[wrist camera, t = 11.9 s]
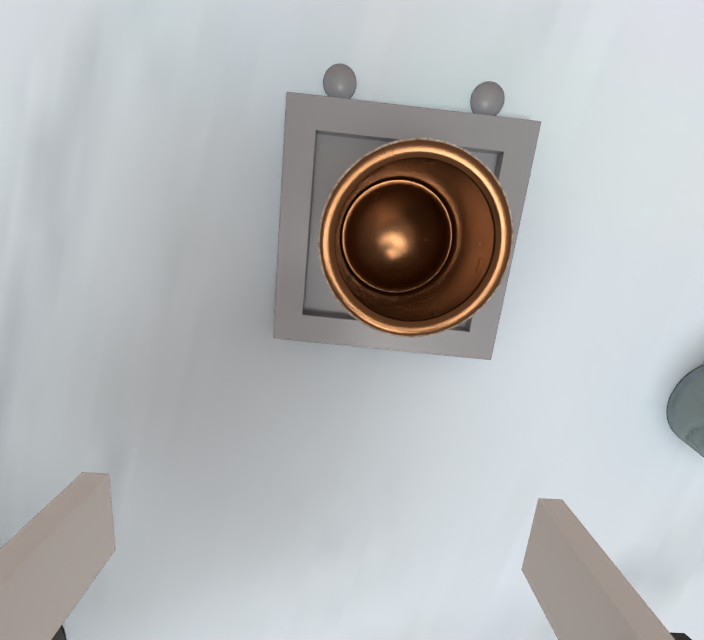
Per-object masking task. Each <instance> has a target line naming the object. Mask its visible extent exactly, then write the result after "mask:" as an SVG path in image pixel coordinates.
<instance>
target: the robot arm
mask: <svg viewBox="0 0 704 640" xmlns="http://www.w3.org/2000/svg"><path fill="white" fill-rule="evenodd" d="M114 551H115V539H114V527H113V516H112V504H111V492H110V480H109V474H104V473H87V472H82V473H81V474H80V475H79V476H78V477H77V478H76V479H75V480H74V481H73V482H72V483H71V484H70V485H68V486H67V487H66V488H65V489H64V490H63V491H62V492H61V493H60V494H59V495H58V496H57V497H56V498H55V499H53V500H52V501H51V502H50V503H49V504H48V505H47V506H46V507H45V508H44V509H43V510H42V511H41V512H40V513H38V514H37V515H36V516H35V517H34V518H33V519H32V520H31V521H30V522H29V523H28V524H27V525H26V526H25V527H23V528H22V529H21V530H20V531H19V532H18V533H17V534H16V535H15V536H14V537H13V538H12V539H11V540H10V541H8V542H7V543H6V544H5V545H4V546H3V547H2V548H1V549H0V640H65V637H64V634H63V631H62V628H61V625H62V624H63V623H64V621H65V620H66V618H67V617H68V616H69V614H70V613H71V611H72V610H73V608H74V607H75V606H76V604H77V603H78V601H79V600H80V599H81V597H82V596H83V594H84V593H85V592H86V590H87V589H88V587H89V586H90V585H91V583H92V582H93V580H94V579H95V578H96V576H97V575H98V573H99V572H100V571H101V569H102V568H103V566H104V565H105V564H106V562H107V561H108V559H109V558H110V556H111V555H112V554H113V552H114ZM522 571H523V573H524V575H525V577H526V579H527V581H528V583H529V585H530V587H531V589H532V590H533V592H534V594H535V596H536V598H537V600H538V602H539V604H540V606H541V608H542V610H543V612H544V613H545V615H546V617H547V619H548V621H549V623H550V625H551V627H552V629H553V631H554V633H555V635H556V636H557V638H558V640H692V639H690V638H689V637H688V636H687V635H686V634H685V633H669V631H668V630H667V629H666V628H665V626H664V625H663V624H662V623H661V621H660V620H659V619H658V618H657V617H656V615H655V614H654V613H653V612H652V610H651V609H650V608H649V607H648V605H647V604H646V603H645V602H644V600H643V599H642V598H641V597H640V595H639V594H638V593H637V592H636V590H635V589H634V588H633V587H632V585H631V584H630V583H629V582H628V581H627V579H626V578H625V577H624V576H623V574H622V573H621V572H620V571H619V569H618V568H617V567H616V566H615V564H614V563H613V562H612V561H611V559H610V558H609V557H608V556H607V554H606V553H605V552H604V551H603V549H602V548H601V547H600V546H599V545H598V543H597V542H596V541H595V540H594V538H593V537H592V536H591V535H590V533H589V532H588V531H587V530H586V528H585V527H584V526H583V525H582V523H581V522H580V521H579V520H578V518H577V517H576V516H575V515H574V514H573V512H572V511H571V510H570V509H569V507H568V506H567V505H566V504H565V502H564V501H563V500H560V499H542V498H538V502H537V507H536V511H535V515H534V519H533V524H532V528H531V532H530V536H529V540H528V545H527V549H526V553H525V557H524V562H523V566H522Z"/></svg>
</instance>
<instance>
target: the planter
mask: <svg viewBox="0 0 704 640" xmlns="http://www.w3.org/2000/svg"><path fill="white" fill-rule="evenodd" d="M513 235H514V231H513V219H512V213H511V209H510V205H509V202H508V199H507V196H506V194H505V192H504V190H503V188H502V186H501V184H500V182H499V181H498V179H497V178H496V176H495V175H494V174H493V172H492V171H491V170H490V169H489V168H488V167H487V166H486V165H485V164H484V163H483V162H482V161H481V160H480V159H479V158H478V157H476V156H475V155H473V154H472V153H471V152H469V151H467V150H466V149H464V148H462V147H460V146H458V145H455V144H453V143H450V142H447V141H443V140H439V139H433V138H407V139H401V140H397V141H393V142H389V143H387V144H384V145H381V146H379V147H377V148H375V149H373V150H371V151H369V152H368V153H366V154H365V155H363V156H362V157H360V158H359V159H358V160H357V161H355V162H354V163H353V164H352V165H351V166H350V167H349V168H348V169H347V170H346V171H345V172H344V173H343V174H342V176H341V177H340V178H339V179H338V181H337V182H336V184H335V185H334V187H333V188H332V190H331V192H330V194H329V196H328V198H327V200H326V202H325V205H324V208H323V211H322V214H321V218H320V223H319V229H318V255H319V261H320V265H321V269H322V272H323V275H324V278H325V280H326V283H327V285H328V287H329V289H330V291H331V292H332V294H333V295H334V297H335V298H336V300H337V301H338V302H339V304H340V305H341V306H342V307H343V308H344V309H345V310H346V311H347V312H348V313H349V314H350V315H351V316H352V317H354V318H355V319H356V320H358V321H359V322H360V323H362V324H364V325H365V326H367V327H369V328H371V329H373V330H376V331H378V332H381V333H384V334H388V335H392V336H398V337H425V336H431V335H435V334H439V333H442V332H445V331H448V330H450V329H452V328H454V327H457V326H458V325H460V324H462V323H464V322H465V321H467V320H468V319H470V318H471V317H472V316H474V315H475V314H476V313H477V312H478V311H479V310H480V309H482V308H483V306H484V305H485V304H486V303H487V302H488V301H489V300H490V299H491V297H492V296H493V295H494V293H495V292H496V290H497V289H498V287H499V285H500V284H501V282H502V280H503V278H504V275H505V273H506V271H507V268H508V265H509V262H510V258H511V253H512V248H513Z"/></svg>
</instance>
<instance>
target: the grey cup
mask: <svg viewBox="0 0 704 640" xmlns="http://www.w3.org/2000/svg"><path fill="white" fill-rule="evenodd" d="M667 418H668V422H669V425H670V427H671V429H672V430H673V432H674V433H675V434H676V435H677V436H678V437H679V438H680V439H681V440H682V441H684V442H685V443H686V444H688V445H689V446H690V447H691V448H693V449H694V450H695V451H696V452H698V453H699V454H700V455H701V456H703V457H704V366H701V367H699V368H697V369H695V370H694V371H692V372H691V373H689V374H688V375H687V376H686V377H684V378H683V379H682V380H681V382H680V383H679V384H678V385H677V386H676V388H675V389H674V391H673V393H672V394H671V397H670V399H669V402H668V406H667Z"/></svg>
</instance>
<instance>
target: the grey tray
mask: <svg viewBox="0 0 704 640" xmlns="http://www.w3.org/2000/svg"><path fill="white" fill-rule="evenodd" d="M323 85H324V89H325V92H326V94H327V96H328V97H327V96H318V95H310V94H301V93H293V92H287V95H286V113H285V132H284V150H283V169H282V187H281V206H280V224H279V243H278V262H277V280H276V299H275V317H274V336H273V338H276V339H286V340H296V341H306V342H316V343H326V344H336V345H346V346H356V347H365V348H375V349H385V350H395V351H405V352H415V353H425V354H435V355H445V356H455V357H465V358H475V359H485V360H491V357H492V352H493V348H494V343H495V338H496V333H497V329H498V324H499V319H500V315H501V310H502V305H503V300H504V296H505V291H506V286H507V281H508V277H509V272H510V267H511V263H512V258H513V253H514V248H515V244H516V239H517V234H518V230H519V225H520V220H521V215H522V211H523V206H524V201H525V196H526V192H527V187H528V182H529V178H530V173H531V168H532V163H533V159H534V154H535V149H536V144H537V140H538V135H539V130H540V126H541V121H533V120H524V119H516V118H507V117H499V116H495V115H496V114H498V113H499V112H500V110H501V109H502V107H503V104H504V92H503V90H502V88H501V87H500V86H499V85H498V84H497V83H495V82H484V83H482V84H481V85H479V86H478V87H477V88H476V89H475V91H474V92H473V94H472V97H471V109H472V111H473V113H474V114H473V113H464V112H456V111H447V110H438V109H430V108H421V107H413V106H404V105H396V104H387V103H378V102H370V101H361V100H353V99H350V98H351V97H352V95H353V94H354V92H355V89H356V77H355V74H354V72H353V71H352V69H351V68H350V67H348V66H347V65H344V64H335V65H333V66H331V67H330V68H329V69H328V70H327V71H326V73H325V75H324V80H323ZM407 138H433V139H439V140H443V141H447V142H450V143H453V144H455V145H458V146H460V147H462V148H464V149H466V150H467V151H469V152H471V153H472V154H473V155H475V156H476V157H478V158H479V159H480V160H481V161H482V162H483V163H484V164H485V165H486V166H487V167H488V168H489V169H490V170H491V171H492V172H493V174H494V175H495V176H496V178H497V179H498V181H499V182H500V184H501V186H502V188H503V190H504V192H505V194H506V196H507V199H508V202H509V205H510V209H511V213H512V219H513V231H514V235H513V248H512V253H511V258H510V262H509V265H508V268H507V271H506V273H505V275H504V278H503V280H502V282H501V284H500V285H499V287H498V289H497V290H496V292H495V293H494V295H493V296H492V297H491V299H490V300H489V301H488V302H487V303H486V304H485V305H484V306H483V308H482V309H480V310H479V311H478V312H477V313H476V314H475V315H474V316H472V317H471V318H470V319H468V320H467V321H465V322H464V323H462V324H460V325H458V326H457V327H454V328H452V329H450V330H448V331H445V332H442V333H439V334H435V335H431V336H425V337H398V336H392V335H388V334H384V333H381V332H378V331H376V330H373V329H371V328H369V327H367V326H365V325H364V324H362V323H360V322H359V321H358V320H356V319H355V318H354V317H352V316H351V315H350V314H349V313H348V312H347V311H346V310H345V309H344V308H343V307H342V306H341V305H340V304H339V302H338V301H337V300H336V298H335V297H334V295H333V294H332V292H331V291H330V289H329V287H328V285H327V283H326V280H325V278H324V275H323V272H322V269H321V265H320V261H319V255H318V229H319V223H320V218H321V214H322V211H323V208H324V205H325V202H326V200H327V198H328V196H329V194H330V192H331V190H332V188H333V187H334V185H335V184H336V182H337V181H338V179H339V178H340V177H341V176H342V174H343V173H344V172H345V171H346V170H347V169H348V168H349V167H350V166H351V165H352V164H353V163H354V162H355V161H357V160H358V159H359V158H360V157H362V156H363V155H365V154H366V153H368V152H369V151H371V150H373V149H375V148H377V147H379V146H381V145H384V144H387V143H389V142H393V141H397V140H401V139H407Z"/></svg>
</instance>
